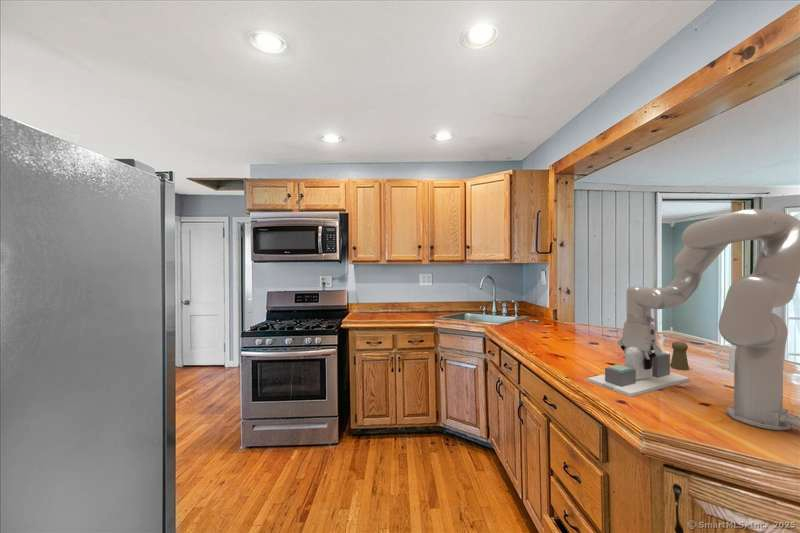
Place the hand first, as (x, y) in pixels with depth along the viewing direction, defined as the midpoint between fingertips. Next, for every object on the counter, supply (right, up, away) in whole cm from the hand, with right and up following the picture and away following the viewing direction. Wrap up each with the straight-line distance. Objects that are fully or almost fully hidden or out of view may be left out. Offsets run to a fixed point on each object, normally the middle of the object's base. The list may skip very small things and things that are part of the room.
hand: (638, 366), depth 126 cm
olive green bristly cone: (+28, -5, +14) cm, 32 cm away
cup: (+47, -5, +10) cm, 48 cm away
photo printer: (0, -5, 0) cm, 5 cm away
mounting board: (0, -6, 0) cm, 6 cm away
